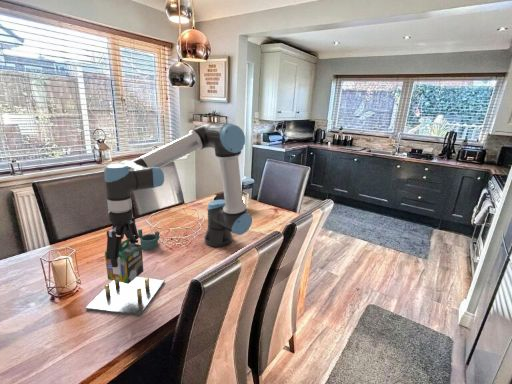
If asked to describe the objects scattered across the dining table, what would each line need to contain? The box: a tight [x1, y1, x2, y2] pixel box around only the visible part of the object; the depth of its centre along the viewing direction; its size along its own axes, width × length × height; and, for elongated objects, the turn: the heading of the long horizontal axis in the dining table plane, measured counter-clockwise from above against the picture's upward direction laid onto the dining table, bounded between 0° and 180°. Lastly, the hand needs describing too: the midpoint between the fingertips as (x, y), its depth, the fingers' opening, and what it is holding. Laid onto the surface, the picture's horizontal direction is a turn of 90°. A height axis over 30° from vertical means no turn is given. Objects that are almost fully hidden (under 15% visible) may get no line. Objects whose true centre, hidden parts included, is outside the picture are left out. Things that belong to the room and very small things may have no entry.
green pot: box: [137, 229, 160, 251], centre depth 142 cm, size 9×9×9 cm
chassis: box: [85, 276, 165, 317], centre depth 106 cm, size 20×20×6 cm
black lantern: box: [213, 190, 247, 201], centre depth 201 cm, size 15×15×25 cm
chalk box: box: [104, 238, 144, 284], centre depth 102 cm, size 9×9×15 cm
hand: (125, 265), depth 103 cm, fingers closed on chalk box, 10 cm apart
